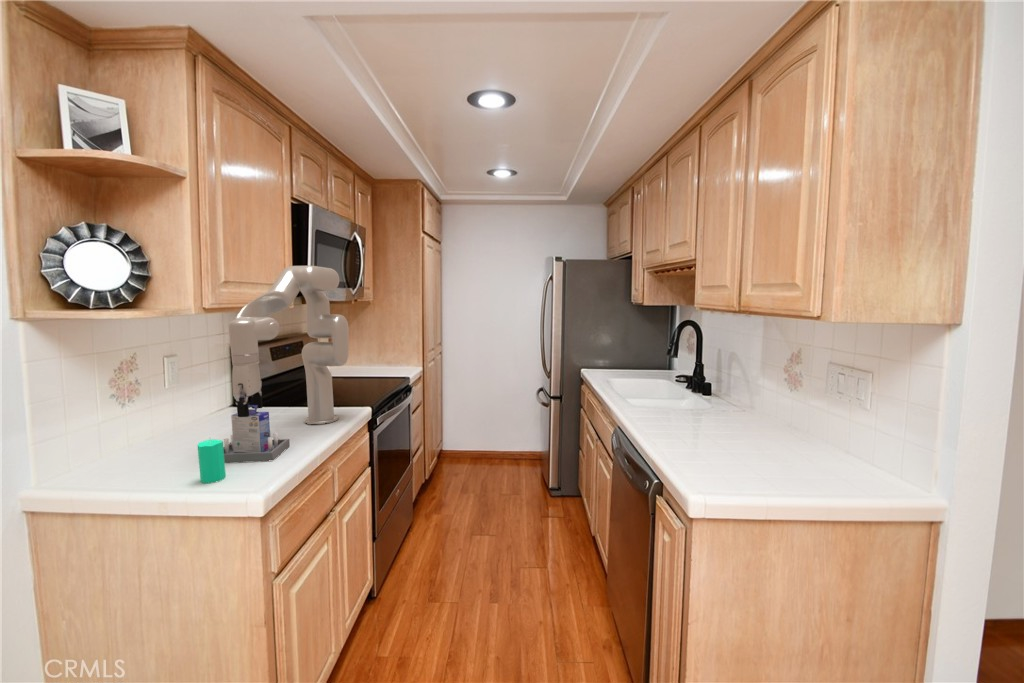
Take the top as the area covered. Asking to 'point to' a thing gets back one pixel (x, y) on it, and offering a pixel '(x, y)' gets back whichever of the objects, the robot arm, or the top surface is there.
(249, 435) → the ink cartridge box
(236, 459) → the pin tray
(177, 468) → the top surface
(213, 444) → the candle
